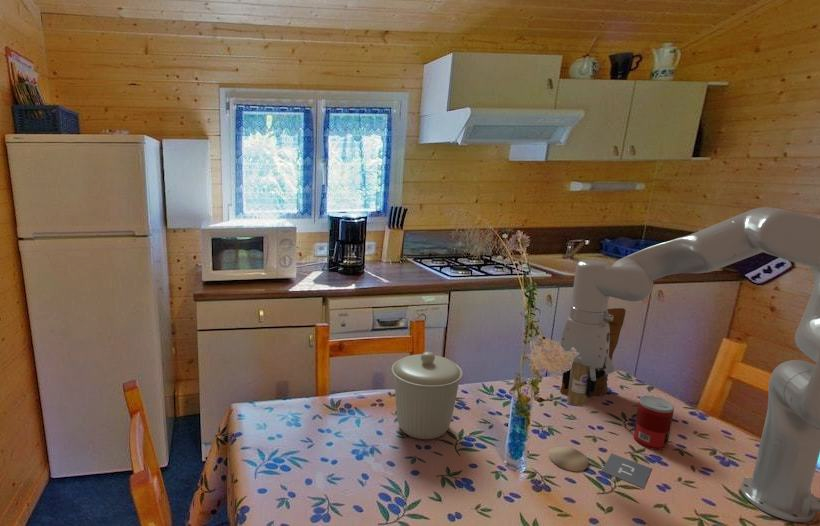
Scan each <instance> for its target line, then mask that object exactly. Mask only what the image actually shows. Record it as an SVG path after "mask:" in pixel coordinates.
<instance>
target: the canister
mask: <svg viewBox="0 0 820 526" xmlns="http://www.w3.org/2000/svg"><path fill="white" fill-rule="evenodd" d="M390 371H391V373H392V375H393V379H394V380H393V381H394V393H395V394H394V396H395V397H394V398H395V408H396V419H397V422H398V426H399V428H400V430H401V431H403V432H404V434H406V435H407V436H409V437H411V438H415V439H419V440H432V439H436V438H439V437H441V436H443V435H445V433H446V432H447V431H448V430H449V428H450V425H451V422H452V419H453V414H454V409H455V406H456V405H455V404H456V401H457V393H458V390H459V385H460V381H461V380H462V378H463V376H464V373H463V369H462V367H460V366H459V365H458V364H457V363H455V362H453V361H452V360H451V359H448V358H446V357H444V356H440V355H435V353H433V352H431V351H424V352H422V353H417V354H411V355H408V356H405V357H402V358H400V359H398V360H396V361H394V363H393V364H392V366H391V370H390Z"/></svg>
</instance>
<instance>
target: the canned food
mask: <svg viewBox="0 0 820 526" xmlns="http://www.w3.org/2000/svg"><path fill="white" fill-rule="evenodd" d="M636 410H637V411H636V415H635V423H634V429H633V439H634V440H635V441H636V442H637V444H639V445H641V446H642V447H645V448H647V449H652V450H664V449H666V448H667V446H668V443H669V438H670V433H671V428H672V422H673V417H674V411H675V406H674V405H673V403H671V402H670V401H669V400H667V399H664V398H662V397H659V396H654V395H643V396H640V397H639V399H638V404H637V409H636Z"/></svg>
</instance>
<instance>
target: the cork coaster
mask: <svg viewBox="0 0 820 526" xmlns="http://www.w3.org/2000/svg"><path fill="white" fill-rule="evenodd" d="M548 458H549V460H550V461H551V463H553V464H554V465H555V466H557V467H559V468H561V469H563V470H565V471H570V472H582V471H585V470H586V469H587V468H588V467H589V459H588V457H587V456H586V455H585V454H584V453H583V452H581V451H579V450H578V449H576V448H573V447H570V446H563V445H561V446H555V447H552V448H551V449H550V450H549V453H548Z"/></svg>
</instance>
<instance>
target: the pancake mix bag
mask: <svg viewBox="0 0 820 526" xmlns="http://www.w3.org/2000/svg"><path fill="white" fill-rule="evenodd" d="M607 310H608V314H610V315H613V321H606V323H608V324H609V328H610V344H609V358H610V360H611V361H612V362H613V354H614V353H615V350H616V348H617V345H618V343H619V338H620V334H621V330H622V327H623V324H624V321H625V318H626V312H627V311H626V308H624V307H623V308H622V307H619V308H607ZM603 368H606V366H605V364H604V365H603V367H602V368H600V369H599V370H601V369H603ZM563 374H564V373H563V372H562V377H561V378H562V379H561V382H563ZM608 377H609V374H606V375H604V376H602V377H600V378H599V379H597V383H596V390H595V392H594V393H593V392H592V394H591V395H590V396H591V397H592V396H604V395H607V393H608ZM568 389H569V388H568ZM568 389H564V384H563V383H561V387H560V390H559V393H561V394H563V395H566V396H568ZM590 396H589V397H590Z"/></svg>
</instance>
